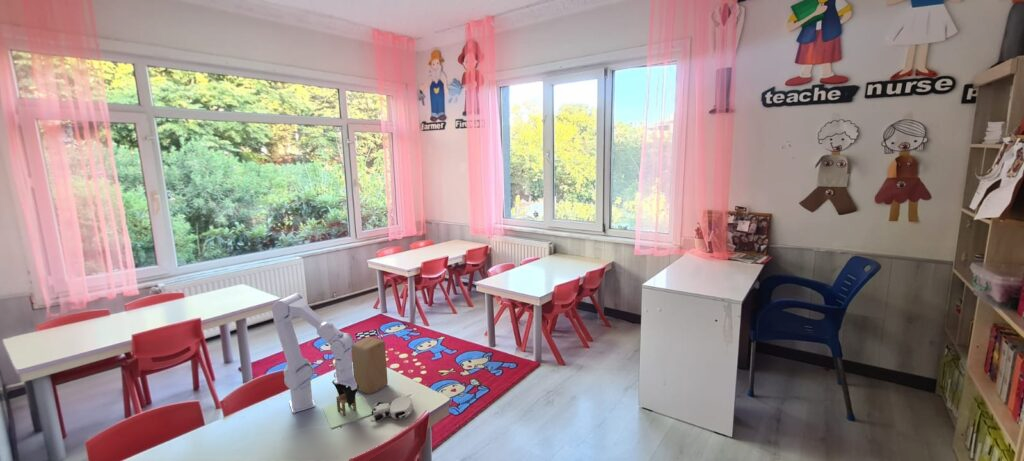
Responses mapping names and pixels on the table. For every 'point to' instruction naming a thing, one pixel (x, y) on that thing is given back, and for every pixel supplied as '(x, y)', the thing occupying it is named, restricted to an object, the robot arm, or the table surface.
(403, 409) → the robot toy
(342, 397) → the brown handled box
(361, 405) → the sage mat
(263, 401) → the table surface
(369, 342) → the wooden block
